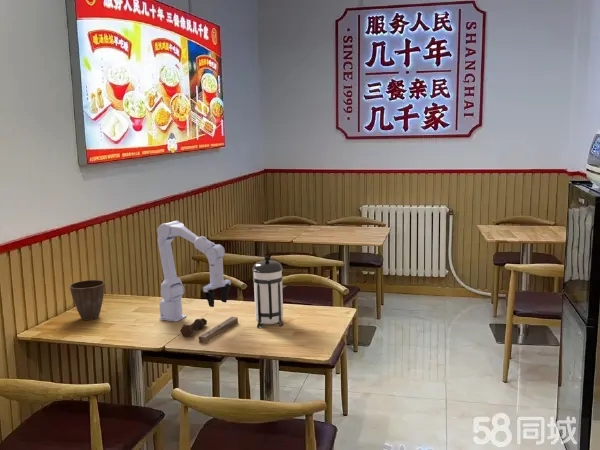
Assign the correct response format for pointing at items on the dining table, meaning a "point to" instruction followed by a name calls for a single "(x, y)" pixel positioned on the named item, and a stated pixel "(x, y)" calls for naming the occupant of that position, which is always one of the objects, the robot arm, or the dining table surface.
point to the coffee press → (268, 292)
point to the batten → (218, 330)
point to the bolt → (193, 327)
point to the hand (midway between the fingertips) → (218, 304)
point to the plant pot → (88, 298)
